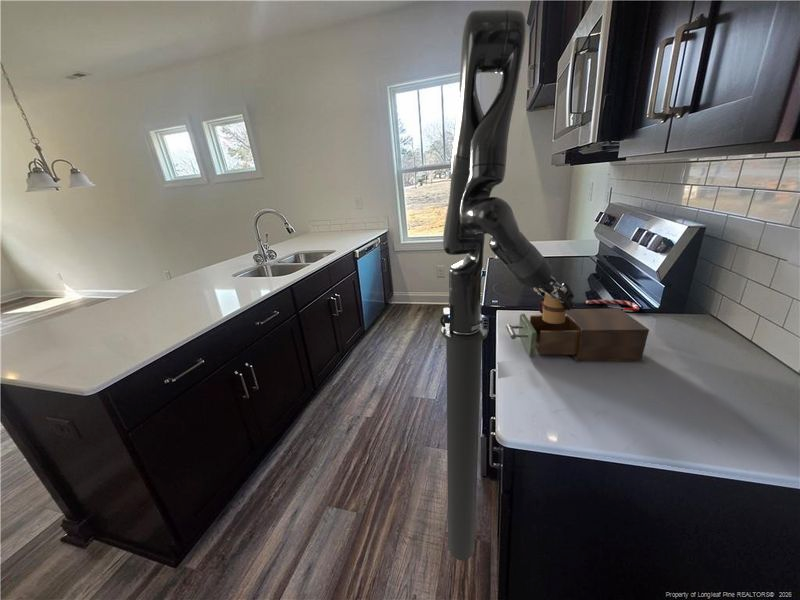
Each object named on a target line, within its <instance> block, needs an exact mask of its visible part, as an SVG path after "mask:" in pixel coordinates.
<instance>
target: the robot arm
mask: <svg viewBox="0 0 800 600" xmlns="http://www.w3.org/2000/svg"><path fill="white" fill-rule="evenodd" d="M526 36H527V19H526V15H525V13H524V11H522V9H521V10H520V9H516V8H515V9H511V8H509V9H507V8H506V9H504V8H502V9H500V8H499V9H474V10H471V11H470V12H469V13H468V15H467V16H466V18H465V22H464V26H463V32H462V37H461V38H462V39H461V50H460V51H461V53H460V67H459V68H460V73H459V89H458V106H457V118H456V125H455V128H456V129H455V136H454V140H453V141H454V142H453V149H452V158H451V171H450V172H451V173H450V183H449V184H450V186H449V194H448V195H449V196H448V203H447V204H448V205H447V210H446V215H445V221H444V227H443V234H442V247H443V250H444V252H445V254H447V255H450V256H460V255H466V256H465V257H464V258H463V259H462V260H460V261H459V262H456V263H454V264H453V265H450V267H449V269H448V307H443V308H442V310H443V313H442V315H441V316H440V318H439V323H440V324H441V326H443V327H445V326H446V325H445V324H446V323H449V332H450V334H455V335H459V336H472V335H475V334H477V333H478V332H479V331H480V323H481V294H482V293H481V292H482V273H483V267H484V266H483V265H484V253H485V242H486V235H490V236H491V237H490V239H489V243H488V245H489V248H490V250H491V252H492V253H493V254H494V255H495V256H496V257H497V258H498V259H499V260H500V262H502V264H503V265H504V267H505V268H506V269H507V271H508V272H509V273H510V274H511V275H512V276H513V277H514V279H516V280H517V281H518V282H519V284H521V285H522V286H523V287H524V288H527V289H530V290H531V292H534V293H535V292H536V293H537V294H538V295H539V296H542V299H544V298H545V293H546V294H547V295H548V296H549V297H550V298H554V299H556V300H557V301H559V303H561V305H562V306H563V307H564V308H565V309H566V310H568V311H569V310H570V309H573V308H574V306H575V303H574V302H573V298H575V295H574V292H573V291H572V289H571V288H570V286H569V284H568V283H566V282H563V283H562V284H561V283H559V281H556V278H555V277H554V276H552V266H551V264H550V263H549V261H548V260H547V259H546V258H545V257H544V256H543V255H542V253H541V252H540V250H538V248H537V247H536V246H535V245H534V244H533V243H531V241H529V239H528V238H527V237H526V236H525V235H524V234H523V232H522V231H521V230H520V227H519V224H518V221H517V219H516V217H515V213H514V211H513V209H512V207H511V205H510V204H509V203H508V202H507V201H506V200H504V199H503V198H501V197H498V196H491V194H492V191H493V189H495V188H497V186H499V185H501V184H502V183H503V182H504V180H505V177H506V168H507V167H506V166H507V156H508V155H507V154H508V141H509V133H510V128H511V127H510V125H511V121H512V115H513V110H514V106H515V101H516V95H517V90H518V86H519V79H520V73H521V69H522V63H523V58H524V57H523V56H524V52H525V45H526V44H525V43H526V38H527V37H526ZM478 74H501V78H500V84H499V87H498V89H497V92H496V94H495V97H494V99H493V100H492V102H491V104H490V105H489V107H488V109H487V110H486V112H485V113H484V111H483V109H482V105H481V102H480V100H479V99H480V98H479V95H478V90H477V89H478V88H477V75H478ZM555 289H556V290H555ZM554 290H555V291H554ZM553 291H554V293H553V294H551V293H552V292H553ZM558 295H559V297H560V298H559V297H558Z"/></svg>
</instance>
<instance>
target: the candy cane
mask: <svg viewBox="0 0 800 600" xmlns="http://www.w3.org/2000/svg"><path fill="white" fill-rule="evenodd" d="M585 304H586V305H599V304H601V305H602V304H603V305H604V304H605V305H606V304H611V305H612V304H615V305H624V306H629V307H623V309H622V311H624V312H625V313H627V312H628V313H633V312H634V313H635V312H638V311H639V310H640V306H639V304H637V303H635V302H631V301H628V300H622V299H589V300H586V301H585Z"/></svg>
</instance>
